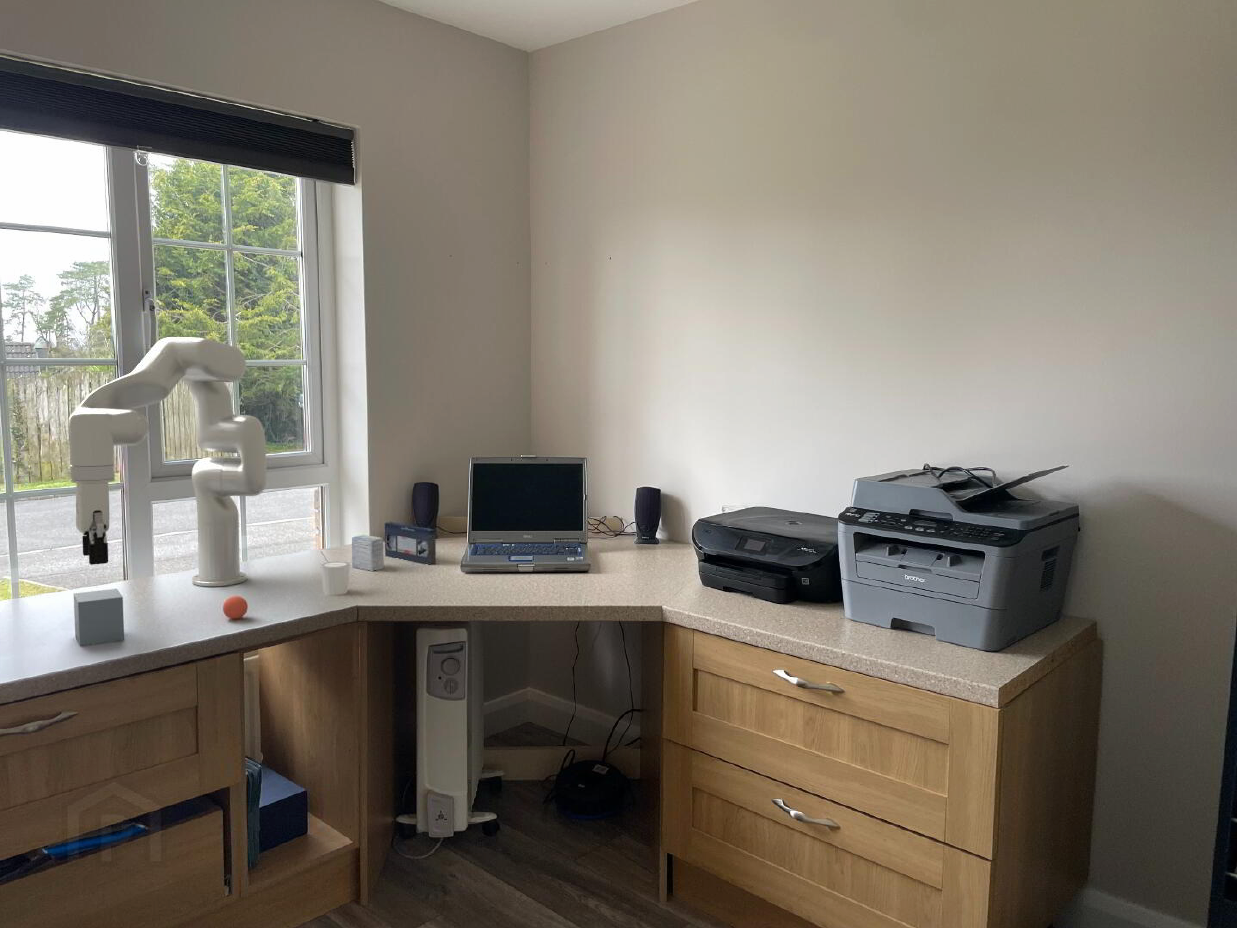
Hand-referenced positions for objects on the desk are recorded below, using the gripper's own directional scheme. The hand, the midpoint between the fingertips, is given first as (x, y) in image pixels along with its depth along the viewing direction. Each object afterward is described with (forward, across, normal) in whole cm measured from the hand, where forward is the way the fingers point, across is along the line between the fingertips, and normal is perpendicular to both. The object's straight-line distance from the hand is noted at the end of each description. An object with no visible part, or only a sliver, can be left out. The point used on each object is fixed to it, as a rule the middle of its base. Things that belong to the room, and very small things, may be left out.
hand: (95, 559), depth 179 cm
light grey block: (+16, -31, +68) cm, 77 cm away
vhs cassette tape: (+15, -35, +82) cm, 91 cm away
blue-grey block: (+16, 0, 0) cm, 16 cm away
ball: (+14, 0, +26) cm, 30 cm away
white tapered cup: (+16, -11, +52) cm, 56 cm away
